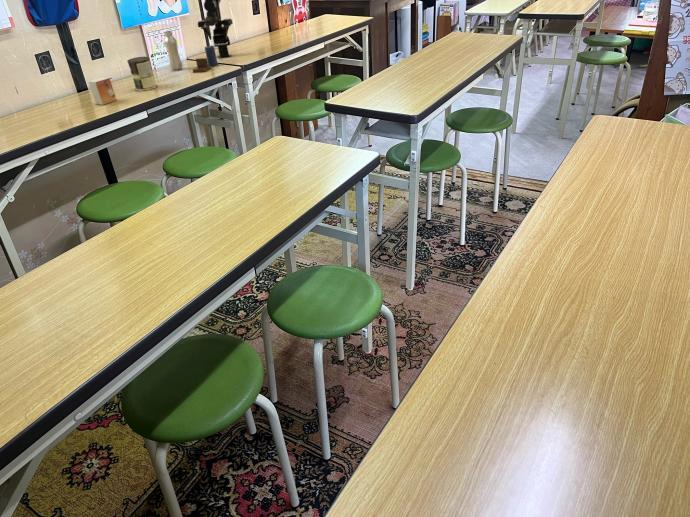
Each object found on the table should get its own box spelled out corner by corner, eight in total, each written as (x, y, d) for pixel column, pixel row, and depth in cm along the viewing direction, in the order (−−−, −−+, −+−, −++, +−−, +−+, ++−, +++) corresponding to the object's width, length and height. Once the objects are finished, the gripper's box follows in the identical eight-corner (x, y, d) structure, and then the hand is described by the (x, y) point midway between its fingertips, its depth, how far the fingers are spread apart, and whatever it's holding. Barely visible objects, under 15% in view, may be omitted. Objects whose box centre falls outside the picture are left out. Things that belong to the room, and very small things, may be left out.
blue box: (212, 53, 296) (203, 42, 286) (220, 52, 295) (212, 41, 285) (210, 70, 294) (201, 59, 284) (218, 70, 293) (210, 59, 283)
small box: (102, 105, 241) (95, 82, 235) (95, 104, 244) (87, 81, 238) (117, 100, 246) (109, 77, 241) (109, 99, 249) (102, 76, 243)
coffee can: (133, 91, 257) (124, 62, 249) (138, 86, 266) (130, 57, 258) (154, 89, 258) (146, 60, 250) (158, 84, 266) (150, 55, 258)
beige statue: (170, 69, 292) (160, 31, 281) (182, 67, 295) (173, 29, 284) (172, 71, 287) (162, 33, 276) (184, 69, 290) (175, 31, 279)
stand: (199, 68, 289) (197, 57, 285) (211, 68, 287) (208, 57, 284) (193, 72, 282) (190, 61, 278) (205, 72, 280) (202, 60, 277)
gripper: (190, 12, 279) (197, 43, 288) (222, 10, 276) (228, 41, 284) (199, 9, 288) (205, 39, 297) (230, 7, 285) (235, 37, 293)
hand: (218, 39), depth 293 cm, fingers open, 9 cm apart
